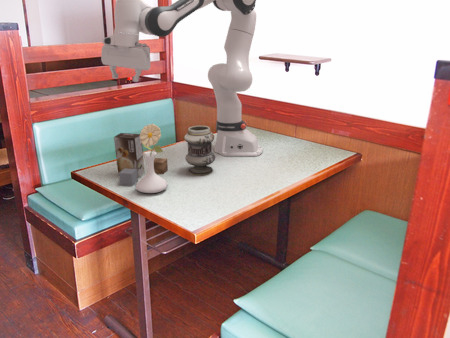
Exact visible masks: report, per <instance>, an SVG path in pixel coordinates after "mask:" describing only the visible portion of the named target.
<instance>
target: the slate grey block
mask: <svg viewBox="0 0 450 338" xmlns="http://www.w3.org/2000/svg"><path fill="white" fill-rule="evenodd" d="M118 179H119V186H123V187H125V186H127V187H133V186H136V184H137V183H138V181H139V179H138V176H137V169H127V168H124V169H123V170H122V171H121V172H119V176H118Z"/></svg>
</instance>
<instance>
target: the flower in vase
mask: <svg viewBox="0 0 450 338" xmlns="http://www.w3.org/2000/svg"><path fill="white" fill-rule="evenodd" d="M140 131H141V132H140V133H139V134H140V139H141V143H142V147H144V148H146V149H148V151H145V152H144V151H143V154H142V155H143V158H144V159H145V162H146V166H147V171H146V172H147V173H146V174H145V175H143V176H142V177H141V178H140V179H138V182H137V183H136V184H135V188H136V190H137V191H138V192H140V193H146V194H155V193H160V192H162V191H164V190H166V189H167V188H168V185H169V184H168V182H167V180H166V179H165V178H164V177H162V176H160V175H159V174H156V173H155V172H154V159H155V158H156V156H157V154H159V153H164V150H163V149H162V147H161V146H160V145H159V144H158V145H157V143H158V141H160V139H161V137H162V134H161V133H162V131H161V128H160V127H159V126H158V125H156V124H154V123H151V124H150V123H148V124H147V125H145V126H143V128H142V129H141V130H140ZM152 146H153V147H152ZM151 147H152V148H151Z"/></svg>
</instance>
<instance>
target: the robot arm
mask: <svg viewBox="0 0 450 338" xmlns="http://www.w3.org/2000/svg"><path fill="white" fill-rule="evenodd" d="M256 2H257V0H175V2H173V3H171V4H170V5H167V6H164V5H163V6H162V5H161V6H150V5H148V4H147V3H145V2H144V1H143V0H115V4H114V5H115V6H114V23H115V26H114V30H113V34H112V35H110V36H109V35H108V36H107V37H103V38H102V44H103V45H102V48H101V52H100V53H101V54H100V55H101V56H100V57H101V58H100V59H101V63H102V65H103V66H104V65H105V66H109V71H110V72H111V77H112V79H115V80H117V79H119V73H117V71H116V70H117V67H118V68H119V67H120V68H126V69H131V70H132V69H133V70H134V72H135V75H134V76H132V82H134V83H138V82H139V78H140V76H141V74H142V71H149V70H150V68H152V67H151V48H150V46H149V45H148V43H147V44H146V43H140V41H139V40H140V33H142V34H145V35H149V36H156V37H160V38H164V37H167V36H169V35H170V34H171V33H172V32H173V31H174V29H175V28H176V26H177V25H178V24H179V23H181V21H183V20H185V18H187V17H188V16H190V15H191V14H193V13H194V12H196V11H198V10H201V9H203V8H205V7H207V6H208V5H210V4H211V3H212V4H213V6H214V7H215V8H216V9H218V10H219V11H223V12H230V17H231V18H230V23H229V26H228V30H227V33H226V34H227V35H226V37H225V42H224V44H223V45H224V46H223V47H224V48H223V49H224V52H225V53H226V55H225V56H226V63H223V62H222V63H216V64H213V65H212V66H211V67H210V68H209V69H208V71H207V79H208V82H209V83H210V84H211V86H212V88H213V92H214V97H215V101H216V124H215V131H216V139H215V140H216V141H215V145H214V149H213V150H214V152H215V153H217V154H218V155H219V154H220V155H221V156H222V157H258V156H261V155H262V153H263V151H264V149H263V146H261V145H259V142H258V138H257V136H256V135H255V134H253V133H252V132H251V131H250V130H248V129H247V120H246V121H244V120H243V119H242V108H243V105H242V102H241V100H240V99H239V97H238V94H237V93H241V92H246V91H247V90H249V89H250V87H251V85H252V84H253V74H252V72H251V70H250V66H249V65H250V64H249V61H250V60H249V55H250V52H251V51H250V50H251V46H252V42H253V38H254V35H255V34H254V33H255V30H256V25H257V12H256V11H255V7H256Z"/></svg>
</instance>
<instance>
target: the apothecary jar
mask: <svg viewBox="0 0 450 338" xmlns="http://www.w3.org/2000/svg"><path fill="white" fill-rule="evenodd" d="M187 129H188V130H187V133H186V134H185V135H184V138H183V139H184V141H185V143H187V154H185V158H184V159H185V161H186V163H187V164H188V165H191V166H192V167H190V168H189V169H188V173H189V174H191V175H192V176H193V175H194V176H205V175H209V174H211V173H213V171H214V169H213V167H211V166H209V165H211V164H213V163H214V162H215V159H216V154H215V153H214V152H213V149H212V148H213V145H212V142H214V141H215V135H214V133H213V132H212V131H211V128H210V126H207V125H193V126H190V127H188V128H187Z"/></svg>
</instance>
